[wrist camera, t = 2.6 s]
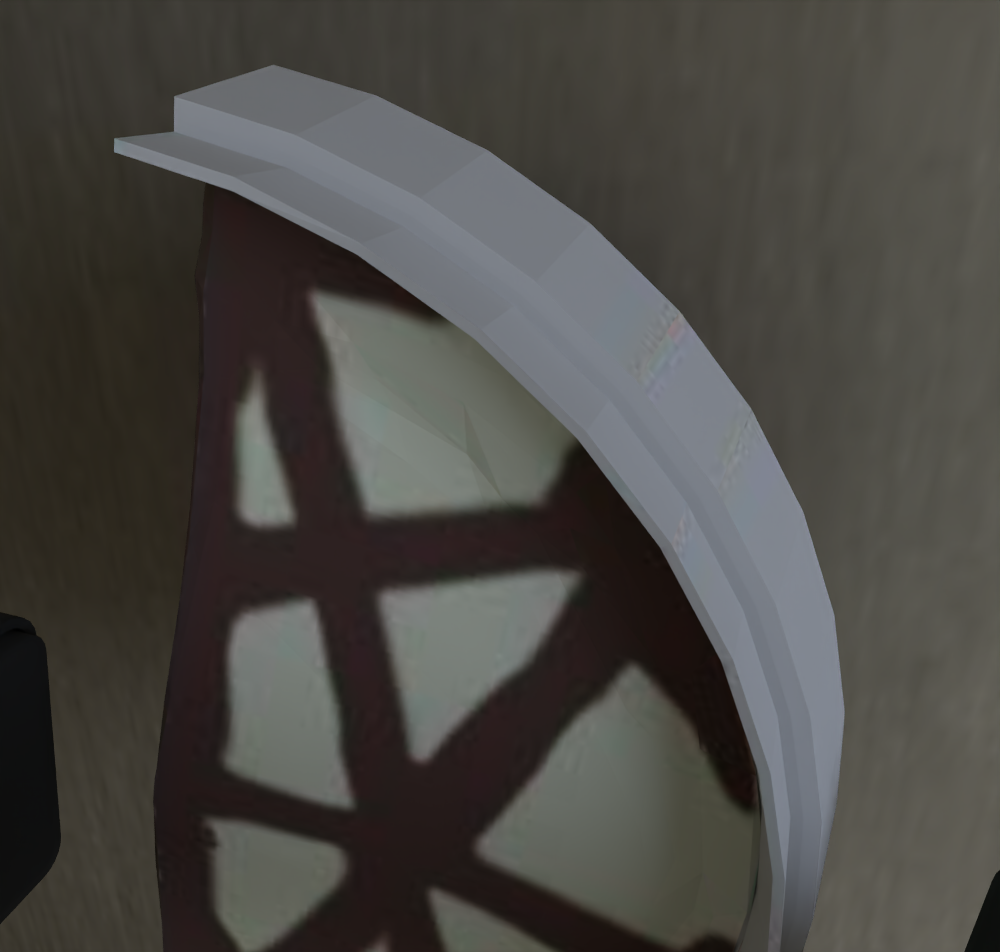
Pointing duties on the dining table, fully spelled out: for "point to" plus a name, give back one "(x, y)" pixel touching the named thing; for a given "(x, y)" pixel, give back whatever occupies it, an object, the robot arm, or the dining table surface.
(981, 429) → the dining table surface
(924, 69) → the dining table surface
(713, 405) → the food container
